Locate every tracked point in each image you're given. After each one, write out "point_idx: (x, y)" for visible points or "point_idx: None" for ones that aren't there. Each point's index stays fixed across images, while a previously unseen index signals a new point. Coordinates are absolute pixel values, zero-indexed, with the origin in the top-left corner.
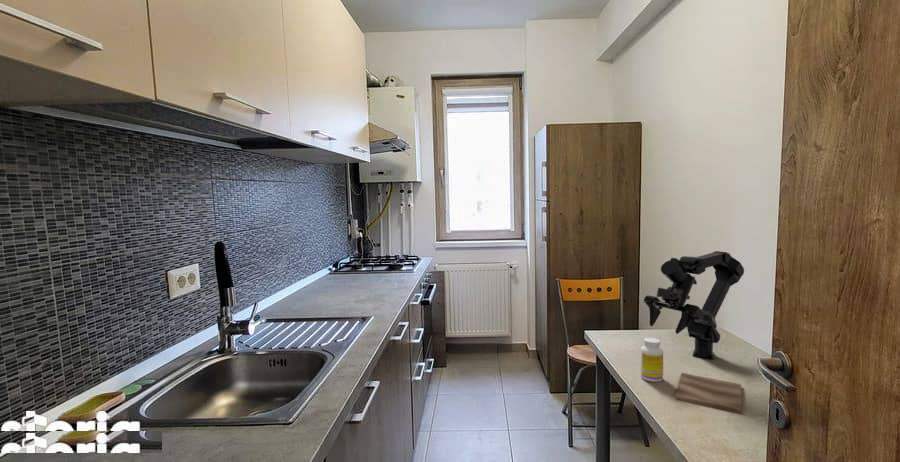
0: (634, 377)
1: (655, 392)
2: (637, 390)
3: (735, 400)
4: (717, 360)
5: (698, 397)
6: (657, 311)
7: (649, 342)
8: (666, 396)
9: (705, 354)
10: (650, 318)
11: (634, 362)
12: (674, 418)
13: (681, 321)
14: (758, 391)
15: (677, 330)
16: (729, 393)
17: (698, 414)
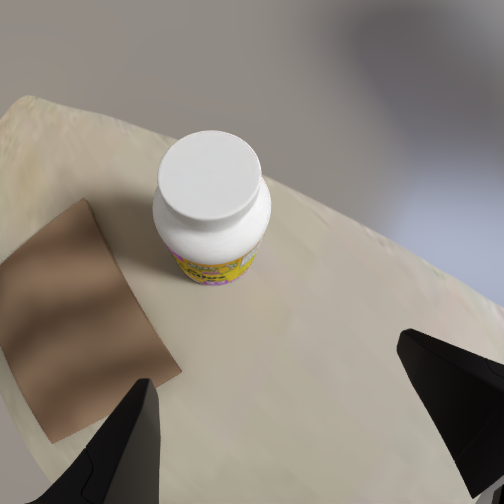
0: None
1: (138, 181)
2: None
3: (1, 322)
4: None
5: (45, 246)
6: (489, 457)
7: (192, 135)
8: (107, 190)
9: None
10: (455, 350)
11: (351, 303)
12: (54, 135)
13: (88, 465)
14: (32, 448)
15: (130, 391)
16: (22, 351)
17: (29, 191)
